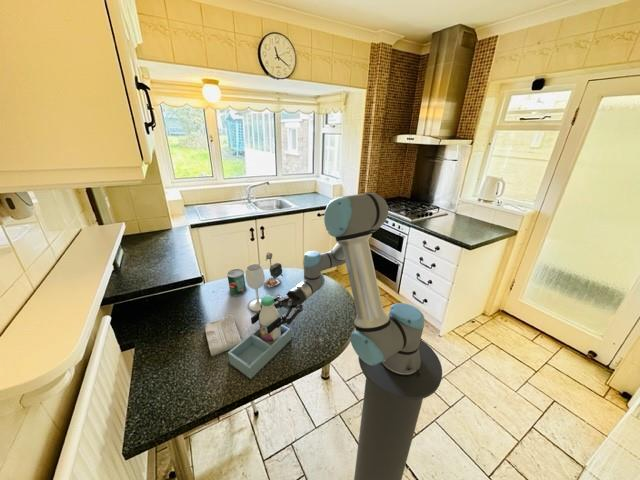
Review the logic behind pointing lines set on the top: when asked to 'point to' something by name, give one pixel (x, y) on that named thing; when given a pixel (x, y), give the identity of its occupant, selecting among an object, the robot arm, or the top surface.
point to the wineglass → (255, 283)
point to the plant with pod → (273, 272)
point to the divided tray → (256, 351)
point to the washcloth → (222, 335)
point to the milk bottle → (268, 320)
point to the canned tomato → (236, 282)
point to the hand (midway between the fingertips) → (259, 325)
